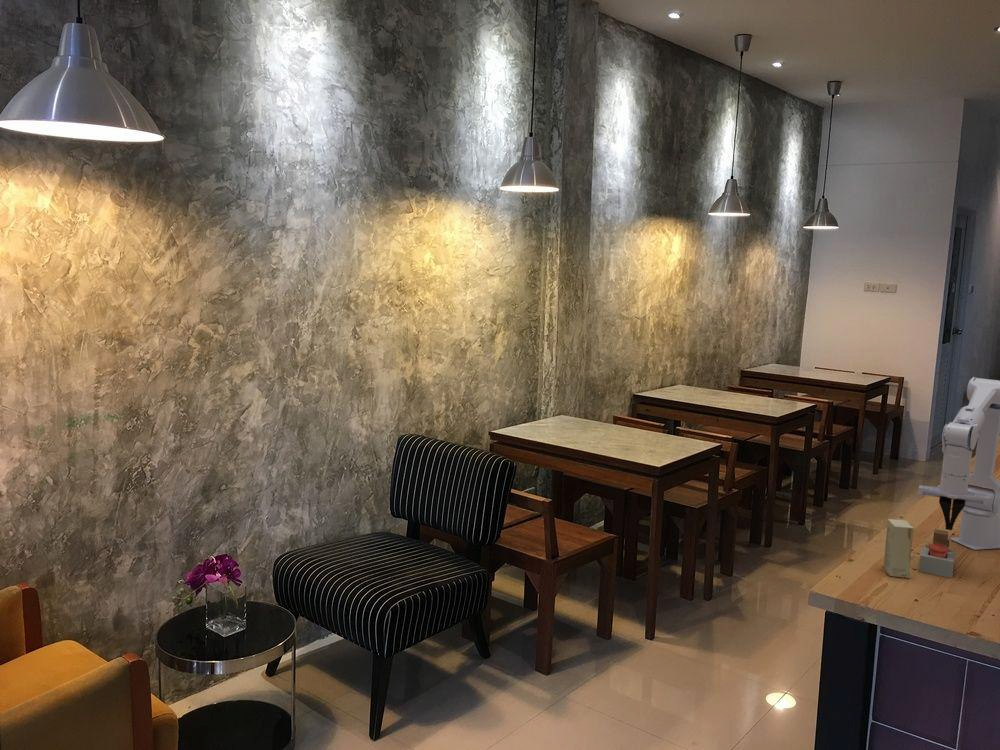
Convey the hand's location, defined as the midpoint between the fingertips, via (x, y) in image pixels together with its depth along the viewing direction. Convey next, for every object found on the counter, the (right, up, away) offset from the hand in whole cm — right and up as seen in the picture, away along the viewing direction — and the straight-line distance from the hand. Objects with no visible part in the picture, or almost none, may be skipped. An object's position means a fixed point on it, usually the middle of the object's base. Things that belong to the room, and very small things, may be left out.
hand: (949, 528), depth 194 cm
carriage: (+1, -9, +7) cm, 12 cm away
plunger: (-2, -9, +1) cm, 9 cm away
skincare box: (-13, -10, -1) cm, 17 cm away
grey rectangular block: (-3, -10, +1) cm, 10 cm away
